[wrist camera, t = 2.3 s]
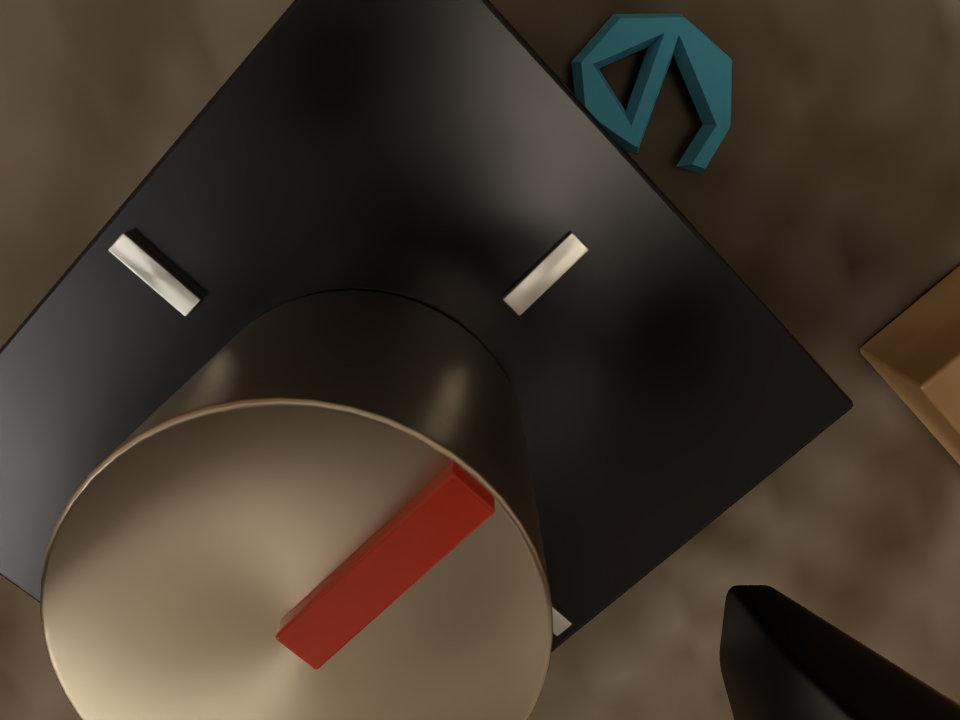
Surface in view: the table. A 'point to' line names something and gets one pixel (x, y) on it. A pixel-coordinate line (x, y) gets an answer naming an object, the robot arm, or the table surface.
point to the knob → (311, 534)
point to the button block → (925, 360)
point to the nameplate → (657, 80)
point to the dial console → (425, 285)
